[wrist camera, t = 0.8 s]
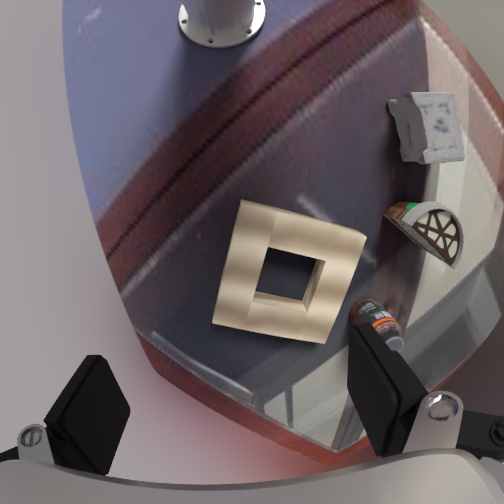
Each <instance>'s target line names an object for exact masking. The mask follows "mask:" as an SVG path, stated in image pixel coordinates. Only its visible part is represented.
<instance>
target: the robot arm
mask: <svg viewBox="0 0 504 504" xmlns="http://www.w3.org/2000/svg"><path fill="white" fill-rule="evenodd" d="M182 2H183V3H182V5H181V7H180V10H179V16H178V20H179V25H180V27H181V29H182V31H183V33H184V34H185V35H186V36H187V37H188V38H189V39H190V40H191V41H193V42H195V43H196V44H199V45H202V46H205V47H210V48H227V47H232V46H236V45H239V44H241V43H244V42H246V41H247V40H249V39H251V38H252V37H253V36H254V35H255V34H257V32H258V31H259V30H260V29H261V27H262V25H263V23H264V19H265V6H264V3H263V1H262V0H182ZM184 23H186V24H184ZM247 33H250V34H247ZM210 42H213V43H210ZM347 387H348V391H349V394H350V396H351V398H352V401H353V403H354V405H355V408H356V410H357V412H358V415H359V417H360V419H361V421H362V424H363V426H364V428H365V431H366V433H367V436H368V438H369V440H370V443H371V445H372V447H373V450H374V452H375V454H376V456H381V457H382V458H381V459H378V460H374V461H370V462H366V463H362V464H358V465H355V466H350V467H347V468H343V469H338V470H334V471H329V472H324V473H318V474H313V475H308V476H302V477H296V478H289V479H282V480H275V481H266V482H256V483H243V484H222V485H190V484H188V485H187V484H167V483H154V482H144V481H136V480H128V479H121V478H115V477H109V476H105V475H106V474H108V473H109V470H110V467H111V464H112V461H113V458H114V456H115V453H116V450H117V447H118V445H119V442H120V439H121V436H122V434H123V431H124V429H125V426H126V423H127V420H128V418H129V415H130V406H129V404H128V402H127V400H126V399H125V397H124V395H123V393H122V391H121V389H120V387H119V385H118V383H117V381H116V379H115V377H114V375H113V373H112V370H111V369H110V366H109V364H108V362H107V360H106V359H104V358H103V357H102V356H101V355H87V356H86V358H85V359H84V361H83V362H82V363H81V365H80V366H79V367H78V369H77V370H76V372H75V373H74V375H73V376H72V378H71V379H70V381H69V382H68V384H67V385H66V386H65V388H64V390H63V391H62V393H61V394H60V395H59V397H58V399H57V400H56V402H55V403H54V405H53V406H52V408H51V409H50V411H49V412H48V414H47V415H46V417H45V419H44V422H45V423H46V425H47V427H46V428H44V427H43V426H42V425H39V424H32V425H29V426H27V427H25V428H24V429H23V430H22V431H21V432H20V433H19V435H18V438H17V444H18V446H16V447H14V448H12V449H9V450H7V451H5V452H3V453H0V504H504V417H503V416H497V415H490V414H484V413H478V412H472V411H467V410H463V404H462V402H461V400H460V399H459V397H458V396H456V395H454V394H453V393H451V392H447V391H437V392H432V393H430V394H429V393H428V391H427V390H426V389H425V387H424V386H423V385H422V383H421V382H420V380H419V379H418V378H417V376H416V375H415V374H414V372H413V371H412V370H411V368H410V367H409V366H408V364H407V363H406V362H405V360H404V359H403V358H402V356H401V355H400V354H399V353H398V352H397V351H396V350H393V351H391V349H390V348H389V347H388V345H387V344H386V343H385V341H384V340H383V339H382V337H381V336H380V335H379V333H378V332H377V331H376V329H375V328H374V327H373V325H372V324H371V323H370V322H365V323H361V324H356V325H354V327H353V329H352V330H350V331H349V354H348V377H347Z"/></svg>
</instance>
